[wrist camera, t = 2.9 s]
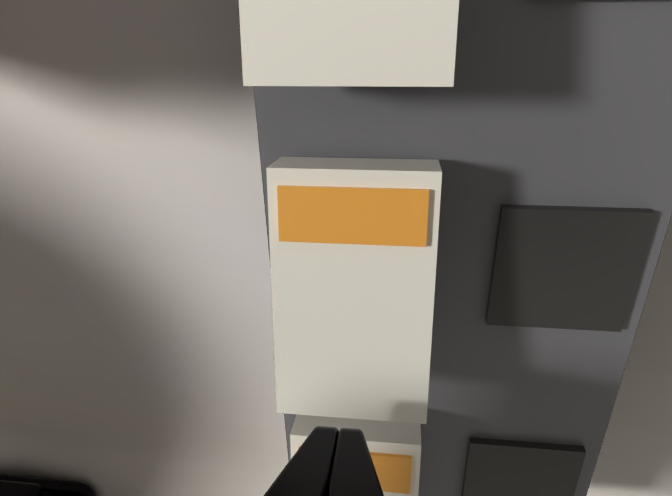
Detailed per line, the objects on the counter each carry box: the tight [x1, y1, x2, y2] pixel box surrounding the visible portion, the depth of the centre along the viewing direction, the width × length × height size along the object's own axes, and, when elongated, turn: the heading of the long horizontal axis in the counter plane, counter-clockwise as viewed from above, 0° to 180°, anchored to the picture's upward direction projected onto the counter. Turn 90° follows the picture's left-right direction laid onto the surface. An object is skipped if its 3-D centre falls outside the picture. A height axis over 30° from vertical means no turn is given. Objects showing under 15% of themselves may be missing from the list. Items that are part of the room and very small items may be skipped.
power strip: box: [254, 0, 672, 496], centre depth 14 cm, size 25×8×4 cm, turn 1°
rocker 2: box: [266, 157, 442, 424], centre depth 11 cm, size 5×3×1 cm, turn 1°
